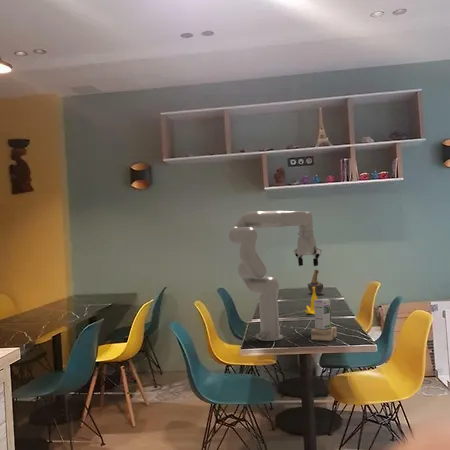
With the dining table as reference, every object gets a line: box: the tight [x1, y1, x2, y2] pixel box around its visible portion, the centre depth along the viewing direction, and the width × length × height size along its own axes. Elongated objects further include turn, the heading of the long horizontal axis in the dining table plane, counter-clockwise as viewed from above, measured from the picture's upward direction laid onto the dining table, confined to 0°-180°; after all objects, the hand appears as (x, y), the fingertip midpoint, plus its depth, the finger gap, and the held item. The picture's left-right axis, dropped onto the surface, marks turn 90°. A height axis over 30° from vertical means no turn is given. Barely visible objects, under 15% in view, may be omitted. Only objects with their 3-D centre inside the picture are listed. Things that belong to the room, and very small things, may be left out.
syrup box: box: [314, 298, 332, 329], centre depth 258 cm, size 6×6×14 cm
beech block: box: [310, 326, 338, 341], centre depth 257 cm, size 10×10×5 cm
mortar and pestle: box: [307, 269, 324, 296], centre depth 412 cm, size 15×17×20 cm
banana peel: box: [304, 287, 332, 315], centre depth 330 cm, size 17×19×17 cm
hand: (308, 265), depth 280 cm, fingers open, 9 cm apart
